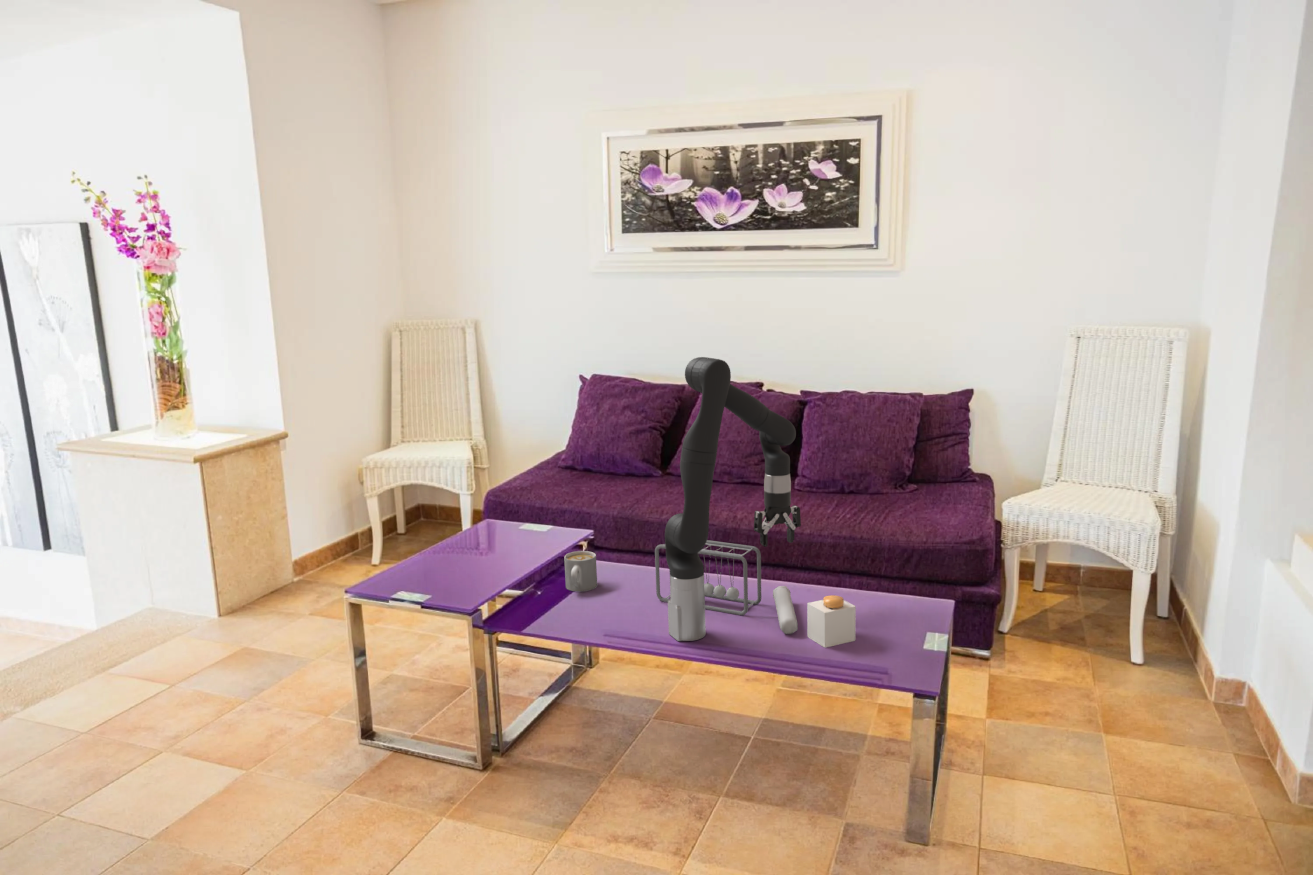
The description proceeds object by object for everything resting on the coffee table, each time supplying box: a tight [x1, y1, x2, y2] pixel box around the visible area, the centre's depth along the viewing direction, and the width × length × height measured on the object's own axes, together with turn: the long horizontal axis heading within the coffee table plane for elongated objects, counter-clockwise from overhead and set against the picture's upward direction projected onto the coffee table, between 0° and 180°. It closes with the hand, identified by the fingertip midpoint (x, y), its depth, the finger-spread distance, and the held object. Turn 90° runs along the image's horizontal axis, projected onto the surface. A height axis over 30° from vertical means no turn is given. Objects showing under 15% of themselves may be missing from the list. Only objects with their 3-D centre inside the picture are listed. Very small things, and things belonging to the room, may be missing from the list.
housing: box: [806, 599, 857, 649], centre depth 237 cm, size 10×8×10 cm
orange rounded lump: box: [822, 594, 844, 610], centre depth 236 cm, size 5×5×4 cm
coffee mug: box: [563, 550, 598, 593], centre depth 283 cm, size 13×10×10 cm
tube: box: [772, 585, 799, 635], centre depth 252 cm, size 5×5×25 cm
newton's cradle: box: [654, 539, 762, 616], centre depth 266 cm, size 30×10×18 cm, turn 60°
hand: (777, 543), depth 259 cm, fingers open, 8 cm apart
